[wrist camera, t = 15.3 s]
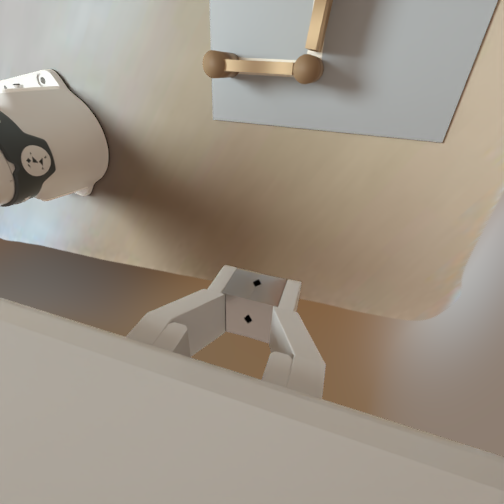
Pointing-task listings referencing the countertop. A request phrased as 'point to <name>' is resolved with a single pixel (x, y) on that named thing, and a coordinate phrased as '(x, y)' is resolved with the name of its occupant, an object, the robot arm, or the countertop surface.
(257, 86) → the card
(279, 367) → the robot arm
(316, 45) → the rail
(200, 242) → the countertop surface
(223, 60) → the fixed rail
